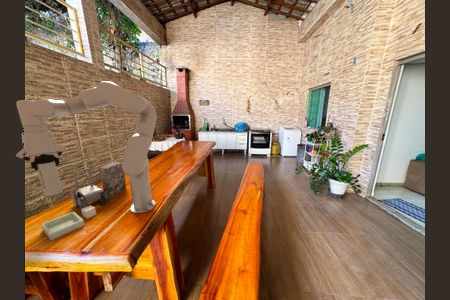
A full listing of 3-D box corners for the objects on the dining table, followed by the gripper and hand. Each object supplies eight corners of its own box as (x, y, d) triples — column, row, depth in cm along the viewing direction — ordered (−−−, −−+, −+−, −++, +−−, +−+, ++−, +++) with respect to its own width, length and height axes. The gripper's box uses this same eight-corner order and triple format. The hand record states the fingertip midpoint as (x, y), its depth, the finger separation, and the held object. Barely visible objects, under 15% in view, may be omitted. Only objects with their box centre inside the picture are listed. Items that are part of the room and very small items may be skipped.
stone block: (113, 198, 105) (107, 167, 100) (103, 197, 106) (97, 167, 101) (128, 189, 117) (124, 161, 113) (119, 188, 118) (114, 161, 114)
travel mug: (61, 190, 86) (52, 152, 82) (64, 194, 82) (54, 154, 78) (44, 195, 82) (33, 155, 77) (45, 199, 78) (34, 157, 73)
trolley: (110, 203, 98) (104, 171, 94) (85, 214, 89) (77, 178, 84) (97, 196, 107) (91, 166, 103) (73, 204, 98) (66, 172, 93)
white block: (96, 214, 89) (95, 207, 88) (87, 218, 85) (86, 211, 84) (91, 211, 91) (90, 205, 90) (82, 215, 87) (81, 209, 87)
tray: (84, 225, 80) (83, 219, 79) (50, 241, 70) (48, 234, 70) (75, 216, 87) (73, 211, 86) (42, 229, 77) (41, 224, 76)
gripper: (60, 127, 84) (68, 161, 88) (4, 130, 70) (16, 171, 74) (65, 127, 80) (73, 164, 84) (6, 131, 66) (19, 175, 70)
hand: (46, 167), depth 79 cm, fingers closed on travel mug, 6 cm apart
